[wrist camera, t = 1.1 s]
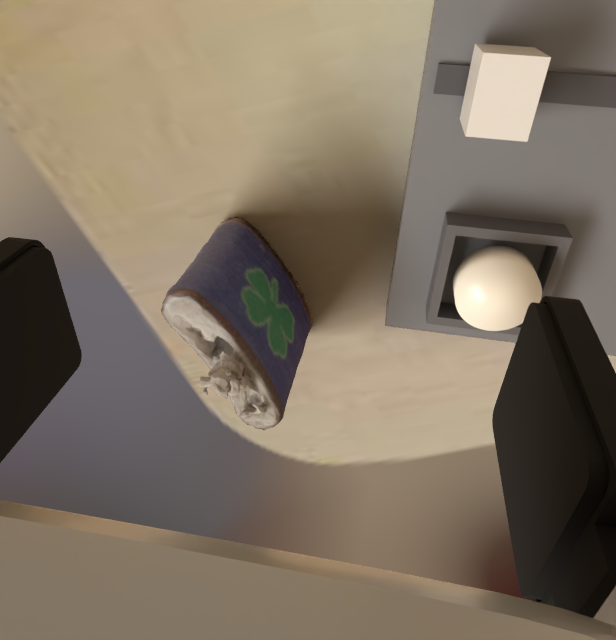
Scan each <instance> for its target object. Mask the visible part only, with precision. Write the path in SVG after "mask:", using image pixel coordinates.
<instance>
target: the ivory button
mask: <svg viewBox="0 0 616 640" xmlns="http://www.w3.org/2000/svg"><path fill="white" fill-rule="evenodd" d="M453 290H454V298H455V305H456V308H457V311H458V313H459V315H460V316H461V317H462V318H463V319H464V320H465V321H466V322H467V323H468V324H470V325H472V326H473V327H476V328H478V329H482V330H487V331H502V330H507V329H511V328H514V327H516V326H518V325H520V324H522V323H523V321H524V318H525V315H526V312H527V309H528V307H529V305H530V303H532V302H534V303H540V301H541V298H542V287H541V283H540V281H539V279H538V276H537V274H536V271H535V269H534V267H533V264H532V262H531V261H530V259H529V258H528V257H527V256H526V255H525V254H524V253H522V252H521V251H519V250H517V249H515V248H512V247H508V246H489V247H484V248H481V249H479V250H476V251H474V252H473V253H471V254H469V255H468V256H467V257H466V258H464V259H463V260H462V262H461V263H460V264H459V265H458V267H457V269H456V271H455V273H454V277H453Z"/></svg>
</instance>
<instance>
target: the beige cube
mask: <svg viewBox="0 0 616 640" xmlns="http://www.w3.org/2000/svg"><path fill="white" fill-rule="evenodd" d="M550 60H551V57H550V56H548V55H547V54H545V53H543V52H542V51H540V50H538V49H537V48H535V47H523V46H508V45H493V44H479V43H475V45H474V50H473V55H472V60H471V65H470V70H469V75H468V80H467V85H466V90H465V95H464V100H463V104H462V109H461V114H460V122H461V125H462V128H463V131H464V134H465V136H466V137H477V138H488V139H500V140H511V141H523V142H527V141H528V138H529V134H530V130H531V127H532V123H533V120H534V116H535V113H536V109H537V106H538V102H539V99H540V95H541V92H542V88H543V84H544V81H545V77H546V74H547V70H548V67H549V63H550Z"/></svg>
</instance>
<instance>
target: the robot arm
mask: <svg viewBox="0 0 616 640" xmlns="http://www.w3.org/2000/svg"><path fill="white" fill-rule="evenodd" d="M80 362H81V349H80V346H79V342H78V340H77V336H76V332H75V329H74V326H73V322H72V319H71V316H70V312H69V309H68V306H67V302H66V299H65V296H64V292H63V289H62V286H61V282H60V279H59V276H58V272H57V269H56V266H55V263H54V259H53V256H52V254H51V252H50V251H49V250H48V249H46V248H45V246H44V245H43V244H42V243H41V242H40V241H38V240H30V239H22V238H11V237H8V238H6V239H4V240H2V241H1V242H0V462H1V461H2V460H3V459H4V458H5V456H6V455H7V454H8V453H9V452H10V450H11V449H12V448H13V447H14V445H15V444H16V443H17V442H18V441H19V439H20V438H21V437H22V436H23V435H24V433H25V432H26V431H27V430H28V428H29V427H30V426H31V425H32V424H33V422H34V421H35V420H36V419H37V417H38V416H39V415H40V414H41V413H42V411H43V410H44V409H45V408H46V406H47V405H48V404H49V403H50V402H51V400H52V399H53V398H54V397H55V396H56V394H57V393H58V392H59V390H60V389H61V388H62V387H63V386H64V385H65V383H66V382H67V381H68V380H69V378H70V377H71V376H72V375H73V374H74V372H75V371H76V370H77V368H78V367H79V365H80ZM493 432H494V438H495V444H496V450H497V456H498V462H499V468H500V475H501V481H502V487H503V493H504V499H505V505H506V511H507V517H508V523H509V529H510V536H511V542H512V548H513V554H514V560H515V566H516V572H517V578H518V585H519V589H520V592H521V595H522V596H523V597H527V598H531V599H532V601H530V600H526V599H522V598H518V597H514V596H510V595H505V594H502V593H497V592H492V591H487V590H482V589H478V588H473V587H468V586H462V585H458V584H453V583H448V582H443V581H437V580H433V579H428V578H423V577H417V576H413V575H408V574H403V573H398V572H393V571H388V570H383V569H377V568H372V567H367V566H361V565H356V564H351V563H345V562H340V561H334V560H329V559H323V558H318V557H312V556H307V555H302V554H296V553H291V552H285V551H280V550H275V549H269V548H263V547H258V546H253V545H247V544H242V543H237V542H231V541H226V540H220V539H215V538H209V537H204V536H198V535H193V534H187V533H181V532H176V531H170V530H165V529H158V528H154V527H148V526H142V525H137V524H131V523H126V522H120V521H114V520H109V519H103V518H97V517H92V516H86V515H81V514H75V513H70V512H64V511H58V510H53V509H47V508H41V507H36V506H30V505H25V504H19V503H13V502H7V501H1V500H0V640H616V373H615V371H614V369H613V367H612V365H611V363H610V360H609V358H608V356H607V354H606V352H605V350H604V348H603V346H602V344H601V342H600V340H599V338H598V335H597V333H596V331H595V329H594V327H593V325H592V323H591V321H590V319H589V317H588V315H587V313H586V310H585V308H584V306H583V304H582V302H581V301H580V300H578V299H570V298H561V297H552V296H544V297H543V298H542V299H541V301H540V303H534V302H532V303H530V305H529V307H528V309H527V312H526V315H525V318H524V321H523V324H522V327H521V330H520V333H519V336H518V339H517V342H516V345H515V348H514V351H513V354H512V357H511V360H510V363H509V366H508V368H507V371H506V374H505V377H504V380H503V383H502V386H501V389H500V392H499V395H498V398H497V401H496V404H495V407H494V411H493Z"/></svg>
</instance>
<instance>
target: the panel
mask: <svg viewBox="0 0 616 640" xmlns="http://www.w3.org/2000/svg"><path fill="white" fill-rule="evenodd" d="M475 43H479V44H493V45H508V46H523V47H535V48H537V49H538V50H540V51H542V52H543V53H545V54H547V55H548V56H550V57H551V60H550V63H549V67H548V70H547V74H546V77H545V81H544V84H543V88H542V92H541V95H540V99H539V102H538V106H537V109H536V113H535V116H534V120H533V123H532V127H531V130H530V134H529V138H528V141H527V142H523V141H511V140H500V139H488V138H477V137H466V136H465V134H464V131H463V128H462V125H461V122H460V114H461V109H462V104H463V100H464V95H465V90H466V85H467V80H468V75H469V70H470V65H471V60H472V55H473V50H474V45H475ZM489 246H508V247H512V248H515V249H517V250H519V251H521V252H522V253H524V254H525V255H526V256H527V257H528V258H529V259H530V261H531V262H532V264H533V267H534V269H535V271H536V274H537V276H538V279H539V281H540V283H541V287H542V298H543V297H544V296H552V297H561V298H570V299H578V300H580V301H581V302H582V304H583V306H584V308H585V310H586V313H587V315H588V317H589V319H590V321H591V323H592V325H593V327H594V329H595V331H596V333H597V335H598V338H599V340H600V342H601V344H602V346H603V348H604V350H605V352H606V354H607V355H613V356H616V0H435V1H434V8H433V14H432V20H431V27H430V33H429V39H428V46H427V52H426V59H425V65H424V71H423V78H422V84H421V90H420V97H419V103H418V110H417V116H416V122H415V129H414V135H413V141H412V148H411V154H410V160H409V167H408V173H407V180H406V186H405V192H404V199H403V205H402V211H401V218H400V224H399V230H398V237H397V243H396V250H395V256H394V262H393V269H392V275H391V281H390V288H389V294H388V301H387V307H386V319H385V326H391V327H399V328H407V329H414V330H422V331H429V332H437V333H445V334H452V335H460V336H468V337H475V338H483V339H491V340H498V341H506V342H514V343H516V342H517V339H518V336H519V333H520V330H521V327H522V324H523V323H522V324H520V325H518V326H516V327H514V328H511V329H507V330H502V331H487V330H482V329H478V328H476V327H473V326H472V325H470V324H468V323H467V322H466V321H465V320H464V319H463V318H462V317H461V316H460V315H459V313H458V311H457V308H456V305H455V298H454V290H453V277H454V273H455V271H456V269H457V267H458V265H459V264H460V263H461V262H462V260H463V259H464V258H466V257H467V256H468V255H469V254H471V253H473V252H474V251H476V250H479V249H481V248H484V247H489ZM542 298H541V299H542Z"/></svg>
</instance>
